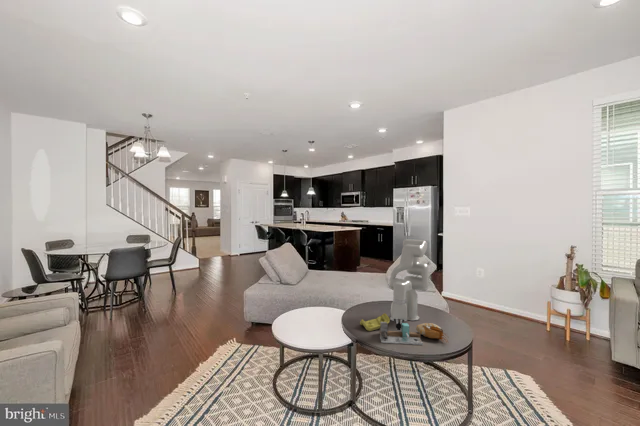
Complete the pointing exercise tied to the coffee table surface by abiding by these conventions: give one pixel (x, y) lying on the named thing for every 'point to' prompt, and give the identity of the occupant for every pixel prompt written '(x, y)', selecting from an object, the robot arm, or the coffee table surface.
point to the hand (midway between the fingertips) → (398, 329)
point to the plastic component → (375, 322)
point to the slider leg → (405, 329)
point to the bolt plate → (401, 340)
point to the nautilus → (431, 331)
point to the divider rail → (386, 333)
